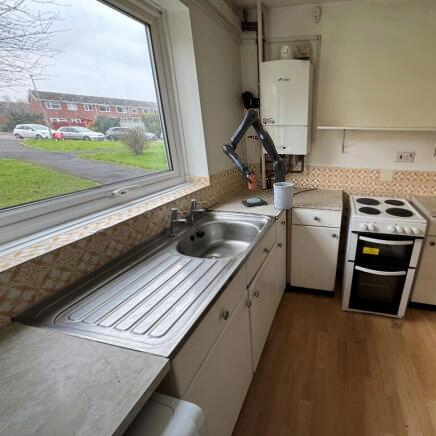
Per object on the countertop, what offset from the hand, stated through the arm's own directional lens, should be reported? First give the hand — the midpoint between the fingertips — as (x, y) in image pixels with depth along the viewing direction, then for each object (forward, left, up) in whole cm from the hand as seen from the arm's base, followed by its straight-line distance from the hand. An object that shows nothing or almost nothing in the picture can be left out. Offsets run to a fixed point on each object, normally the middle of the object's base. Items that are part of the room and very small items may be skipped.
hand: (254, 182), depth 176 cm
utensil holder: (-16, +17, -18) cm, 30 cm away
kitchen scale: (0, -3, -18) cm, 18 cm away
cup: (+1, -1, -5) cm, 5 cm away
